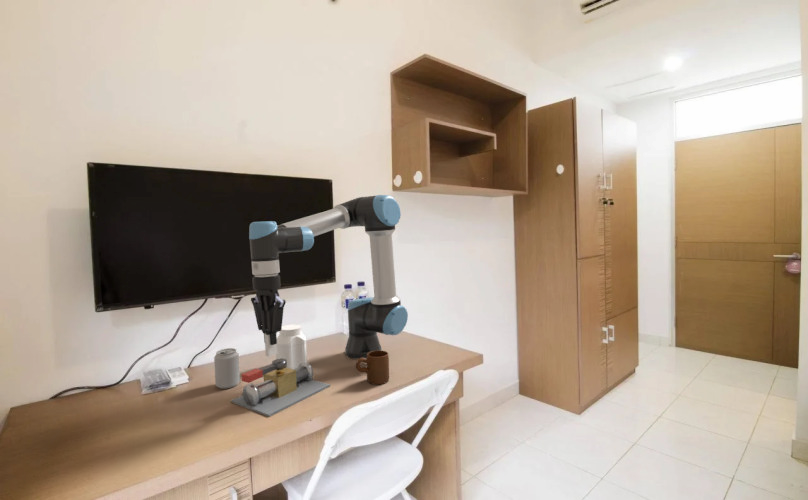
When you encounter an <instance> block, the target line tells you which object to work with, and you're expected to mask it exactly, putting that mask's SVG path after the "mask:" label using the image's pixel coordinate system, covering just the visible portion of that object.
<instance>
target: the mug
mask: <svg viewBox="0 0 808 500" xmlns="http://www.w3.org/2000/svg"><path fill="white" fill-rule="evenodd" d="M361 363H363V364H364V363H365V364H366V367H365V366H364V367H362V366H361ZM355 369H356V370H357V371H358V373H361V374H362V373H365V374H366V380H367V383H369V384H371V385H377V386H378V385H384V384H385V383H388V382H389V380H390V357H389V353H388V351H386V350H381V351H371V352H369V353H367V358H363V357H362V358H359V359H356V362H355Z"/></svg>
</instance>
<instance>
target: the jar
mask: <svg viewBox="0 0 808 500" xmlns="http://www.w3.org/2000/svg"><path fill="white" fill-rule="evenodd" d="M276 348H277V354H275V360H276V359H286V360H287V367H286V368H289V369H293V370H294V369H296V368H298V366H299V365H300V364H301V363H303V362H308V355H307V354H308V353H307V351H308V350H307V337H306V336H305V334H304V333H303V331H302V325H301V324H286V325H282V329H281V331H279V334H278V336H277V344H276Z"/></svg>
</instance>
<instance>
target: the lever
mask: <svg viewBox="0 0 808 500" xmlns="http://www.w3.org/2000/svg"><path fill="white" fill-rule="evenodd" d="M286 367H287V360H286V359H276V358H275V359H274V360H272V362H271V363H270V364H267V365H265V366H262V367H260V368H254V369H251V370H249V371H247V372H244V373H241V381H242V382H243V383H244V382H245V383H248V384H250V383H252V382H254V381H257V380H259V379H261V378H264V374H267V373H269V372H271V371H274V370H280V369H284V368H286Z"/></svg>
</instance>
